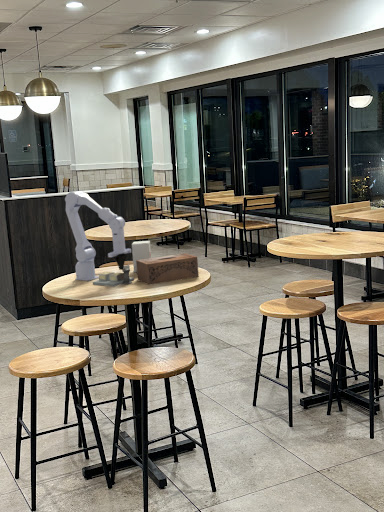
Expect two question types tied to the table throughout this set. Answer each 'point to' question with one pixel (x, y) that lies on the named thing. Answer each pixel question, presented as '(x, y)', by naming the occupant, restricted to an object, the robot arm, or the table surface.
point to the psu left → (105, 276)
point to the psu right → (116, 277)
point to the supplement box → (140, 252)
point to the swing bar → (126, 268)
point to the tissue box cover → (167, 268)
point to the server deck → (110, 283)
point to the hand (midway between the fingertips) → (121, 269)
